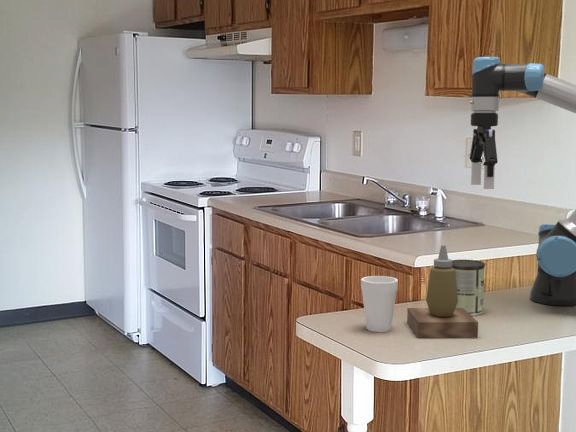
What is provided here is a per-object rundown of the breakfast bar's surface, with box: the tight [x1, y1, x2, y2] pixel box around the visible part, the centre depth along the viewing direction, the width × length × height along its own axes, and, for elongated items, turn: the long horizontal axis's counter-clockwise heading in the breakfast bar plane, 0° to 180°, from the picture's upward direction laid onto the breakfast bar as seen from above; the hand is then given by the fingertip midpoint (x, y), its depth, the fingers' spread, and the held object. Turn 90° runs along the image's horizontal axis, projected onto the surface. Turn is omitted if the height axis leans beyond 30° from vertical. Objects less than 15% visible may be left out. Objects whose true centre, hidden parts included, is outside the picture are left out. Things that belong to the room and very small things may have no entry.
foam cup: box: [360, 275, 399, 333], centre depth 206 cm, size 10×9×13 cm
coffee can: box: [451, 259, 486, 317], centre depth 225 cm, size 10×10×14 cm
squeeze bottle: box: [425, 245, 458, 317], centre depth 204 cm, size 8×8×18 cm
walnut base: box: [406, 307, 479, 339], centre depth 206 cm, size 15×15×4 cm
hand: (482, 186), depth 230 cm, fingers open, 13 cm apart
